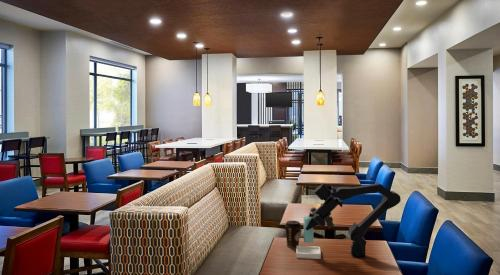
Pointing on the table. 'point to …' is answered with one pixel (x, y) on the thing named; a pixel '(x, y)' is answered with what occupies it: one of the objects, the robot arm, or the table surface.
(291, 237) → the coffee cup
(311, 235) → the teal cylinder
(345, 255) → the table surface
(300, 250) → the tray
